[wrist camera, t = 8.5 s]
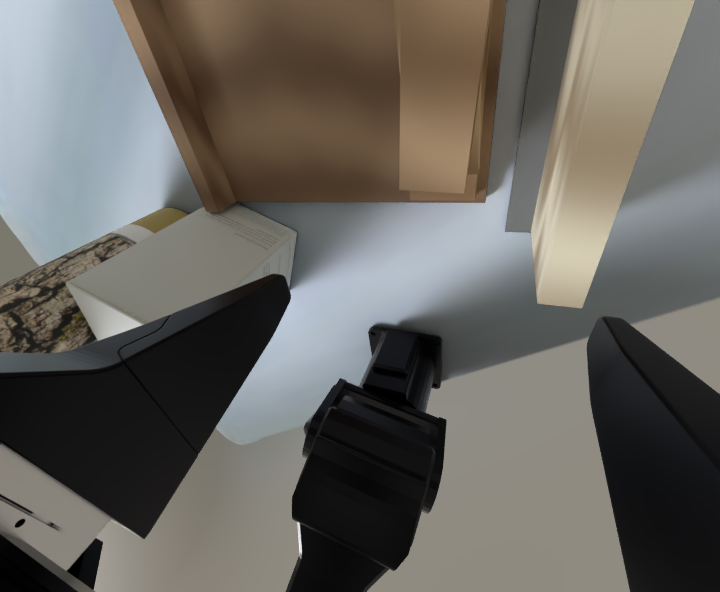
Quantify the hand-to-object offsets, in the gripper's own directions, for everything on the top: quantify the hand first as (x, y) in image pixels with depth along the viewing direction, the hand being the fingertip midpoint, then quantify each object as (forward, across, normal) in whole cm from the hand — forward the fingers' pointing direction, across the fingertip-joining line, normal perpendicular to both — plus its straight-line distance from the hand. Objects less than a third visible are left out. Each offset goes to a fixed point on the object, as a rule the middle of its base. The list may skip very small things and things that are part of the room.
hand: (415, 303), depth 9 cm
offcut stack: (+11, +1, -6) cm, 13 cm away
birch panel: (+12, -5, -3) cm, 13 cm away
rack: (+12, +8, -6) cm, 16 cm away
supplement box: (+13, +17, +6) cm, 22 cm away
